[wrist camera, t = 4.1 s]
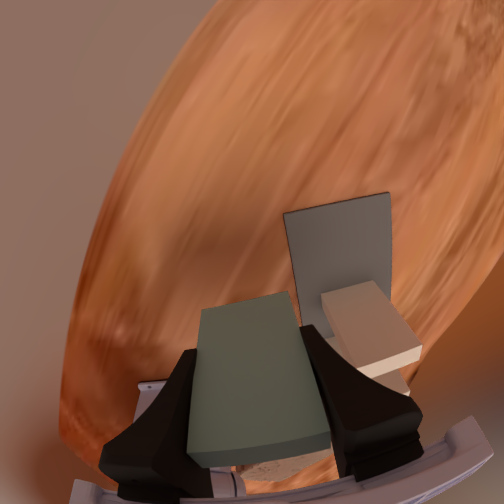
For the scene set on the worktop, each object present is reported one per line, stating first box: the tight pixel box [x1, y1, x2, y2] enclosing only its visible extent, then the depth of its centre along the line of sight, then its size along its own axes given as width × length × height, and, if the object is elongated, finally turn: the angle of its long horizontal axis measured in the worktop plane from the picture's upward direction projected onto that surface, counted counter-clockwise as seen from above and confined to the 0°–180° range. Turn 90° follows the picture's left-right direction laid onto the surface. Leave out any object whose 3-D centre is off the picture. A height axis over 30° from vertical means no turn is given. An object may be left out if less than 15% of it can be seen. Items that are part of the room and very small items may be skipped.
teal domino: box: [187, 291, 331, 468], centre depth 12 cm, size 5×2×9 cm, turn 103°
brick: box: [236, 443, 334, 482], centre depth 33 cm, size 17×8×5 cm, turn 146°
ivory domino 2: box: [325, 337, 410, 396], centre depth 23 cm, size 5×2×9 cm, turn 102°
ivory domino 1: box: [321, 280, 423, 378], centre depth 21 cm, size 5×2×9 cm, turn 103°
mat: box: [283, 192, 392, 339], centre depth 27 cm, size 9×28×1 cm, turn 12°
